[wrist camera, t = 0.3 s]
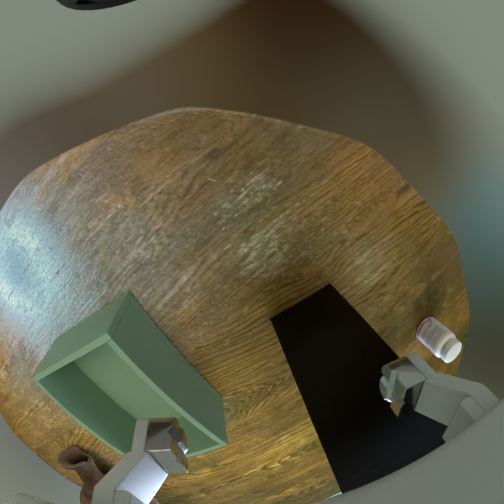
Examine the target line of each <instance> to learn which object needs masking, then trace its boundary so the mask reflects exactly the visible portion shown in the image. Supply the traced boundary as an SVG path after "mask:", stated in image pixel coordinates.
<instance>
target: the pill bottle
mask: <svg viewBox="0 0 504 504" xmlns="http://www.w3.org/2000/svg"><path fill="white" fill-rule="evenodd" d="M416 335H417V338H418V339H419V340H420V341H421V342H422V343H423V344H424V345H425V346H426V347H427V348H428V349H429V350H430V351H431V352H432V353H433V354H434V355H435V356H437V357H441V358H442V360H444V361H445V362H446V363H449V362H451V361H453V360H454V359H455V358H456V357H457V355H458V354H459V352H460V350H461V347H462V344H461V342H460V341H458V340H457V339H456V338H455V335H454V333H452V332H451V331H450V330H449V329H448V328H446V327H445V326H444V325H443V324H441V323H440V322H439V321H438V320H437V319H435V318H434V317H428V318H426V319H425V320H424V321H423V322H422V323H421V324H420V325H419V327H418V329H417V333H416Z"/></svg>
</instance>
